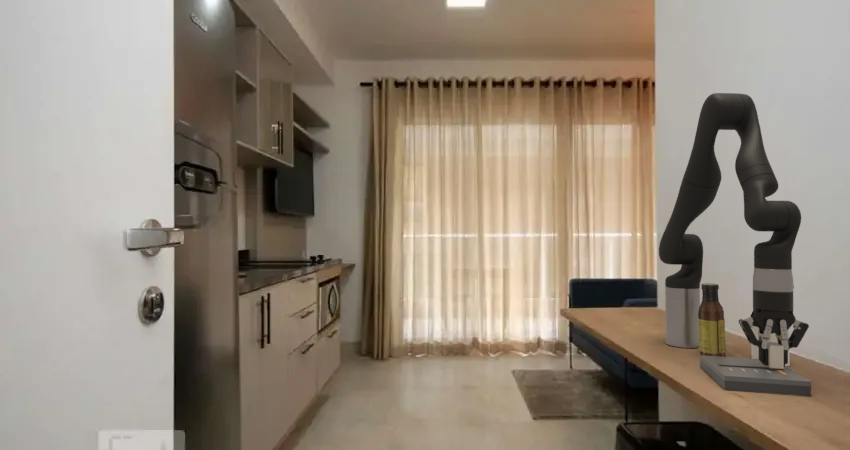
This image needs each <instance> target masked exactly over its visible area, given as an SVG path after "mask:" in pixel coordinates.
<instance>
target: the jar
mask: <svg viewBox="0 0 850 450" xmlns="http://www.w3.org/2000/svg"><path fill="white" fill-rule="evenodd" d="M752 325H753V327H752V328H751V329H752V331H753V333H754V335H755V337H756V338H757V340H758V330H759V328H758V327H757V326H756V324H755V323H754V322H753V323H752ZM787 333H788V339H789V337H790V328H789V329H788V330H787ZM768 342H776V343H778V342H777V338H776V335H775V333H773V334H771V335H770V339H769V341H768ZM750 344H751V343H750ZM750 347H751V349H750V350H751V353H750V354H751V356H750V358H751V359H759V348H758V346H755V345H753V344H751V345H750ZM790 360H791V359H790V349H789V350H788V363H787V364H785V367H787V368H789V367H790Z"/></svg>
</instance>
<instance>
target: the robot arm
mask: <svg viewBox="0 0 850 450" xmlns="http://www.w3.org/2000/svg"><path fill="white" fill-rule="evenodd" d="M721 130H723V131H735V132H736V133H737V135H738V136H739V137H738V138H740V145H739V146H740V147H739V150H738V153H737V155H736V158H735V164H734V170H735V174H736V176H737V178H738V179H737V180H738V181H739V184H740V186H741V189H742V192H743V195H742V196H743V218H744V220H745V223H746V225H747V226H748V227H749V228H750V229H751V230H753V231H755V232H772V234H771V237H770V238H769V239H768V240H767V241H763V242H758V243H757V244H756V245H755V246H754V248H753V249H754V250H753V267H754V268H753V275H752V313H751V314H750V317H747V318H744V319H742V318H740V319H738V323H739V326H740V328H741V329H742V332H743V334H744V335H745V337H746V339H747V341H748V342H749V343H750V344H753V345H755V346H758V348H759V361H760V362H762V364H763V365H768V364H769V352H768V349H767V347H768V341H769V339H770V335H771V334H773V333H775V335H776V338H777V342H778V344H780V345H782V346H784V367H786V366H785V364H787V363H788V350H789V351H790V349H794V348H795V349H796V348H798V347H799V345H800V343H801V342H802V340H803V338H804V336H805V334H806V333H807V331H808V329H809V328H810V325H809V324H808V323H807V322H803V321H800V320H798V319H796V316H795V314H794V289H795V285H794V277H793V276H794V275H793V260H792V258H793V255H792V254H793V249H794V245H795V242H796V239H797V236H798V232H799V230H800V227H801V224H802V213H801V210H800V208H799V206H798V205H797V204H796V203H795V202H793V201H790V200H767V199H766V198H767V197H771V196H773V195H774V194H775V193H776V192H777V191H778V189H779V182H778V180H777V178H776V175H775V173H774V170H773V167H772V165H771V164H770V161H769V158H768V156H767V153H766V150H765V146H764V141H763V136H762V135H763V134H762V130H761V125H760V122H759V115H758V111H757V107H756V103H755V102H754V100H753V98H752V97H751V96H750V95H749V94H744V93H734V92H733V93H730V92H728V93H727V92H719V93H718V92H716V93H714V92H713V93H711V94H709V95H708V96H707V97H706V99H705V100H704V102H703V103H702V106H701V109H700V113H699V117H698V121H697V126H696V131H695V135H694V136H695V137H694V141H693V143H692V150H691V152H690V156H689V159H688V163H687V165H686V168H685V171H684V174H683V177H682V180H681V182H680V183H681V184H680V186H679V191H678V194H677V197H676V201H675V204H674V207H673V210H672V212H671V216H670V218H669V220H668V222H667V224H666V227H665V229H664V231H663V233H662V235H661V238H660V242H659V246H658V256H659V260H660V261H661V262H662V263H664V264H666V265H673V266H674V265H675V266H676V265H677V266H678V265H681V267H680V269H679V270H678V271H677V272H675V273H674V274H673V273H672V275H671V274H670V275H668V276H666V277H665V284H664V285H665V287H664V288H665V289H664V290H665V291H664V293H665V294H664V295H665V302H664V303H665V304H664V305H665V307H664V308H665V312H664V313H665V317H664V318H665V325H664V326H665V329H664V330H665V333H664V334H665V335H664V336H665V338H664V339H665V342H664V343H665V344H666V345H668V346H672V347H677V348H685V349H694V348H695V349H696V348H697V349H698V348H699V323H698V313H699V307H700V305H701V281H702V279H703V263H704V261H703V259H704V245H703V242H702V239H701V237H700V236H699V235H697V234H695V233H686V231H687V230H688V228H689V226H690V225H692V223H693V222H694V221H695V220H696V219H697V218H698V217H699V216H701V215H702V214H703V213H704V212H706V210H707V209H708V208H709V207H710V206H711V204H713V202H714V200H715V199H716V197H717V193H718V190H719V187H720V185H721V181H722V171H721V169H720V165H719V161H718V160H717V156H716V154H715V153H716V152H715V143H716V139H717V136H718V132H719V131H721ZM753 322H754V323H755V324H756V326H757V327H758V328H759V330H758V340H757V338H756V337H755V335H754V333H753V331H752V329H751V328H752V327H753V325H752V323H753ZM791 327H793V328H792V329H793V330H792V332H791V334H790V335H789V339H788V333H787V330H788V329H789V330H790V329H791Z"/></svg>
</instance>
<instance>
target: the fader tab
mask: <svg viewBox="0 0 850 450" xmlns="http://www.w3.org/2000/svg"><path fill="white" fill-rule="evenodd" d="M767 349H768V352H769V364H768V365H766V366H768V367H769V368H770V369H772V370H776V368H778V369H784V346H782V345H780V344H778V343H776V342H768V347H767Z"/></svg>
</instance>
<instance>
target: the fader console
mask: <svg viewBox="0 0 850 450" xmlns="http://www.w3.org/2000/svg"><path fill="white" fill-rule="evenodd" d="M699 364H700V365H699V366H700V367H699V368H700V369H702V371H703V372H704V373H706V374H707V376H709V377H710V379H712V380H713V381H714V382H716V384H717V385H719V386H720V387H721V388H722V389H723V390H725V391H737V392H747V393H748V392H749V393H750V392H751V393H763V394H764V393H765V394H776V395H777V394H779V395H791V396H803V397H804V396H805V397H811V396H812V381H811V380H809V379H807V378H806V377H804V376H802V375H801V374H799V373H797V372H795V371H794V370H792V369H790V368H789V367H787V366H785V367H784V369H778V368H776V370H772V369H770V368H769V367H768V366H766V365H763V364H762V362H760V361H759V359H752V358H751V357H750V358H748V357H733V356H732V357H731V356H726V357H718V356H701V354H700V356H699Z"/></svg>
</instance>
